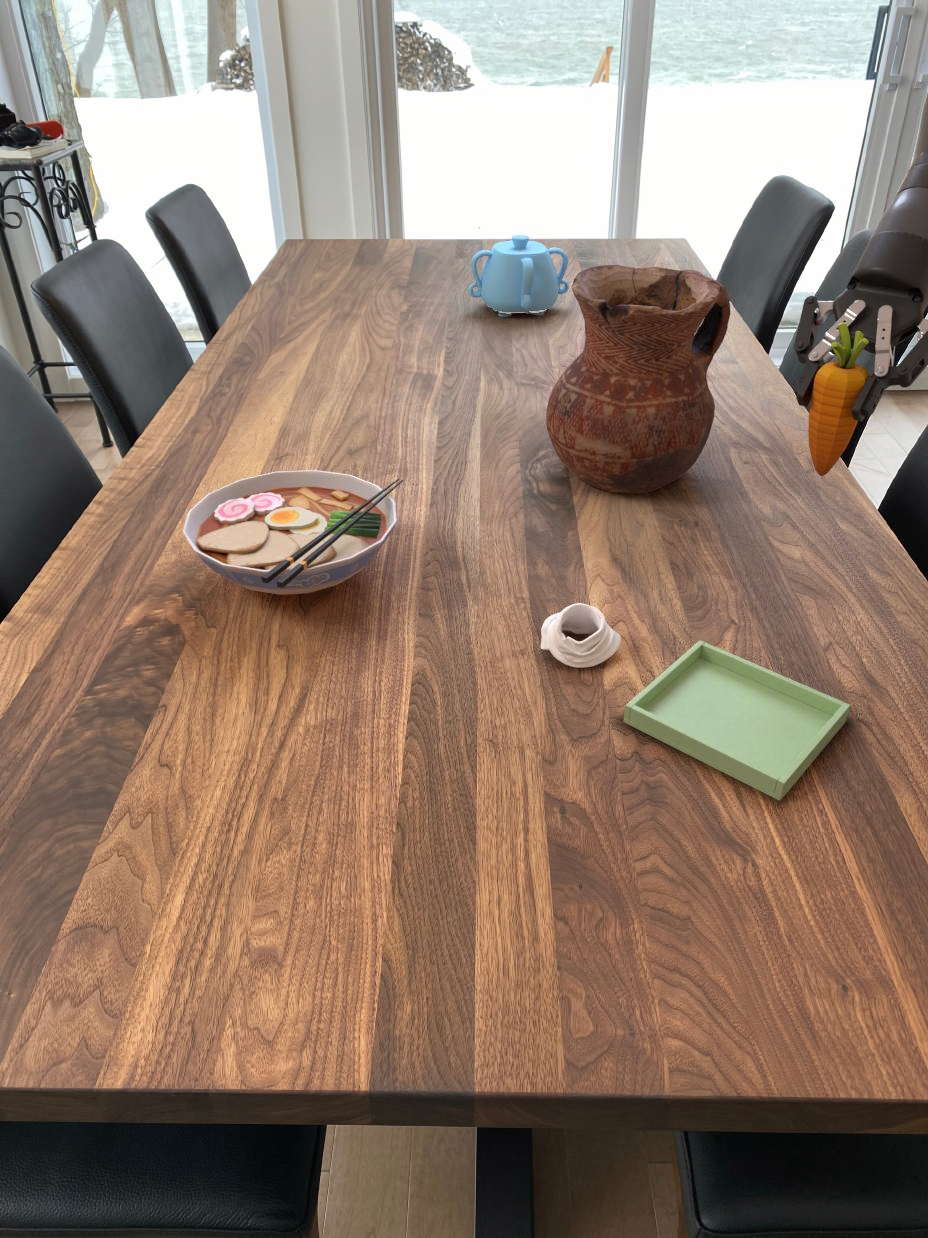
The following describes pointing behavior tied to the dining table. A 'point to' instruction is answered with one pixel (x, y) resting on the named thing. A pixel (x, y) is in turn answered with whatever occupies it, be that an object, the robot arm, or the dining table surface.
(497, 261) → the decorative pot
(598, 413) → the jug
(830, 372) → the carrot
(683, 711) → the green tray
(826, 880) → the dining table surface
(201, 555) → the ramen bowl
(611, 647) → the white cowl scarf
